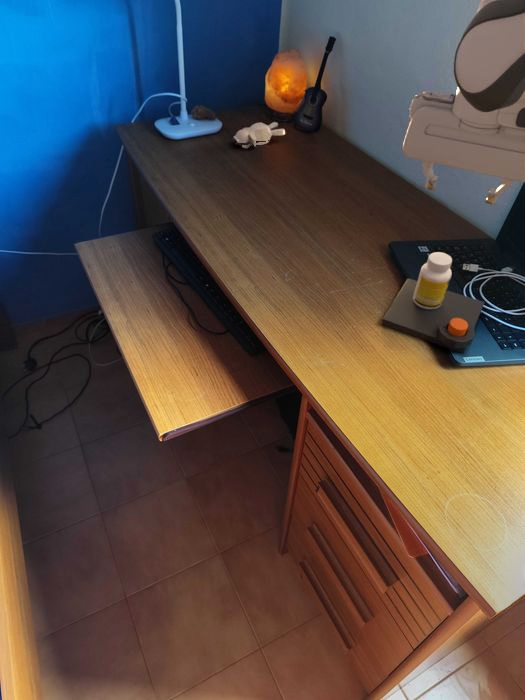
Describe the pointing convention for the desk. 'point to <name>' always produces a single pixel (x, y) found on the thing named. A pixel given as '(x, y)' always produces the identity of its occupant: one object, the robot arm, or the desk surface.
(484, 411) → the desk surface
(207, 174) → the desk surface
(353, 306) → the desk surface
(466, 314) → the scale
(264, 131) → the bunny figurine
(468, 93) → the robot arm
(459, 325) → the button
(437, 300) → the supplement bottle
